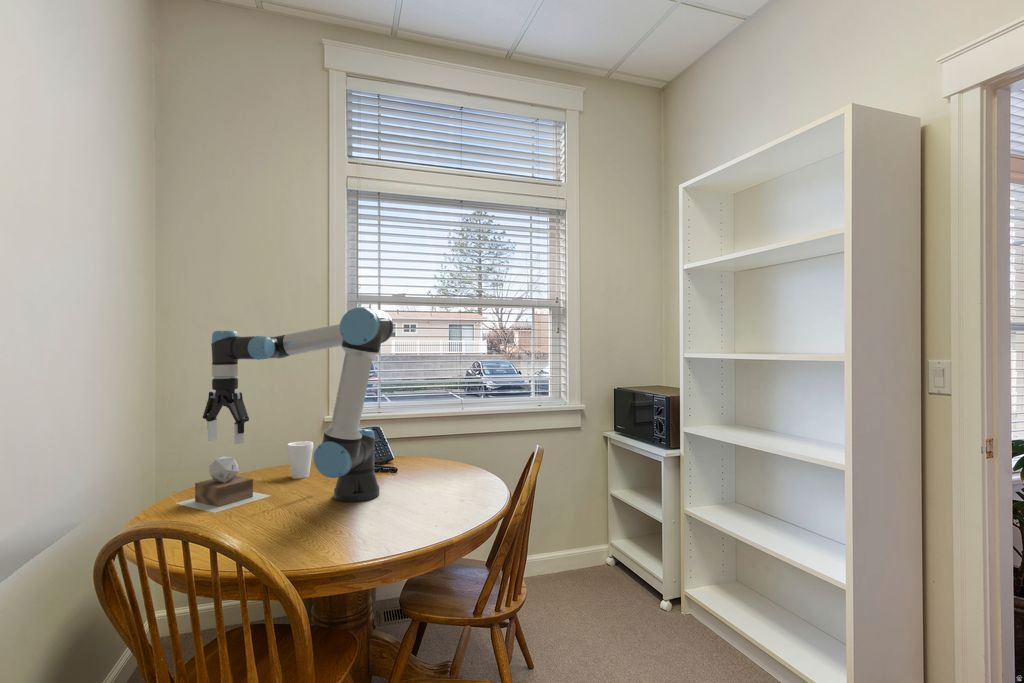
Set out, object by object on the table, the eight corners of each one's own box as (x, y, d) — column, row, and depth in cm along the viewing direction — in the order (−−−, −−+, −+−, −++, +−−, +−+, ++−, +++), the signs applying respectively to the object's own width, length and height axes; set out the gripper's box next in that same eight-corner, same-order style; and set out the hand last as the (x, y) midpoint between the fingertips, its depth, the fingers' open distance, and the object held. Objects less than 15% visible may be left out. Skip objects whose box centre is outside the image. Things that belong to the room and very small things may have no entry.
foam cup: (296, 473, 210) (296, 440, 210) (317, 474, 209) (317, 441, 209) (282, 479, 201) (282, 445, 201) (304, 480, 200) (305, 446, 200)
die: (208, 487, 166) (227, 463, 166) (198, 470, 171) (217, 447, 171) (230, 491, 173) (248, 467, 173) (220, 474, 177) (238, 452, 178)
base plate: (271, 498, 176) (271, 495, 176) (214, 516, 158) (214, 512, 158) (233, 490, 185) (233, 487, 185) (175, 506, 167) (175, 503, 167)
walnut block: (252, 497, 174) (252, 479, 174) (218, 507, 164) (218, 488, 164) (229, 492, 180) (229, 474, 180) (195, 501, 169) (195, 483, 169)
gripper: (260, 377, 169) (261, 442, 169) (212, 376, 181) (212, 437, 181) (239, 379, 163) (239, 447, 163) (190, 377, 174) (191, 441, 174)
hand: (225, 442), depth 172 cm, fingers open, 13 cm apart
